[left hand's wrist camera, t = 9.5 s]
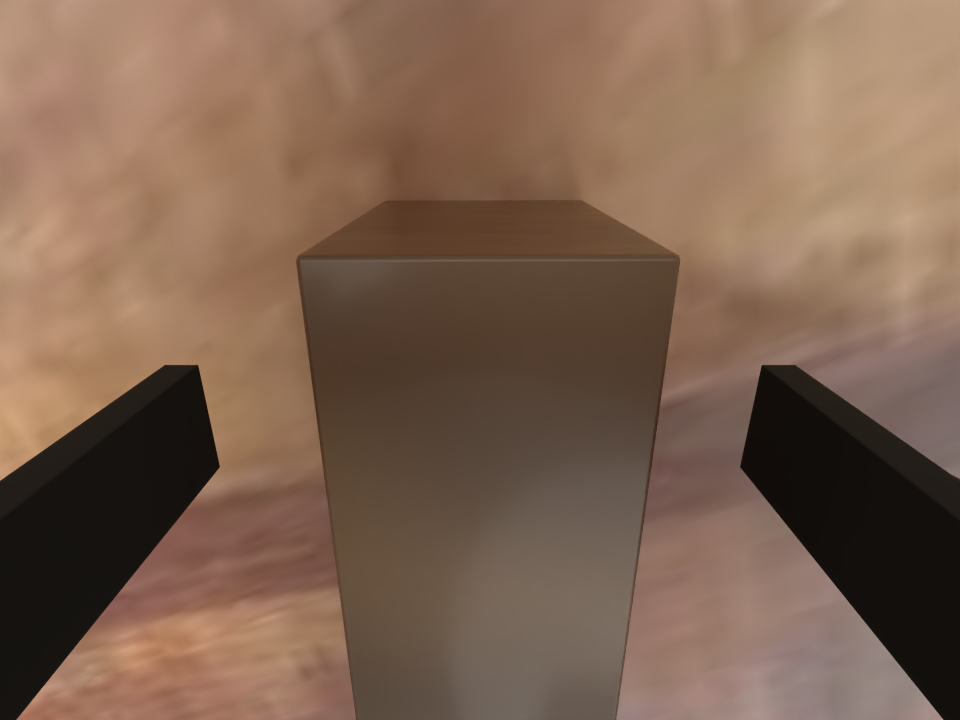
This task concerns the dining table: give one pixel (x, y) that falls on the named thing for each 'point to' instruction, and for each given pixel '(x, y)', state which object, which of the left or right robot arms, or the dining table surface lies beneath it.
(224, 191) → the dining table surface
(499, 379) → the bar
